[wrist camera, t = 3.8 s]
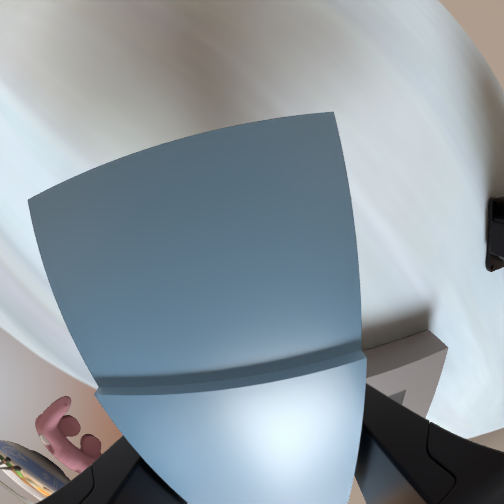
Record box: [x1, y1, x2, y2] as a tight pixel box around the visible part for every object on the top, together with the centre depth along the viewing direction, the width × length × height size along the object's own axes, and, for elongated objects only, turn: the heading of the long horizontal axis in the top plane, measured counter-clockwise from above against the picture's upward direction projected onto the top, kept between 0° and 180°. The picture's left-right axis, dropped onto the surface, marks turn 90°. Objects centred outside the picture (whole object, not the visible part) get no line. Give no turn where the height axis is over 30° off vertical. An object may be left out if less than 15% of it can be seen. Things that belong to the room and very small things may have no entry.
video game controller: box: [35, 396, 102, 473], centre depth 18 cm, size 10×5×7 cm, turn 31°
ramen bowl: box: [0, 440, 71, 500], centre depth 20 cm, size 25×23×8 cm
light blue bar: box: [28, 112, 367, 504], centre depth 6 cm, size 4×12×4 cm, turn 12°
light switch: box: [363, 330, 448, 418], centre depth 18 cm, size 16×12×3 cm
